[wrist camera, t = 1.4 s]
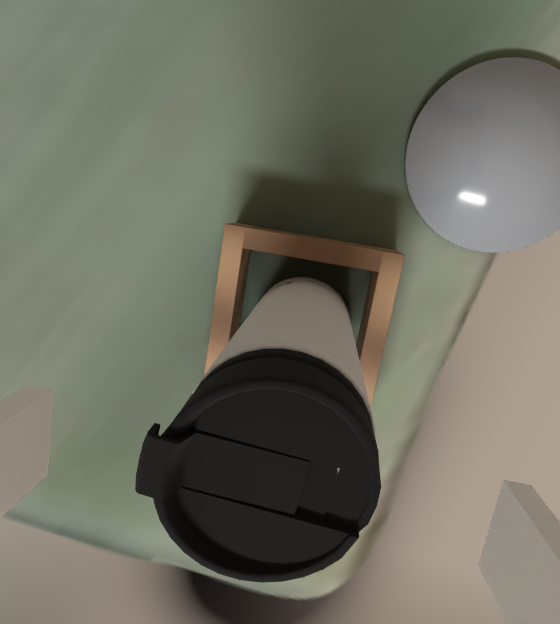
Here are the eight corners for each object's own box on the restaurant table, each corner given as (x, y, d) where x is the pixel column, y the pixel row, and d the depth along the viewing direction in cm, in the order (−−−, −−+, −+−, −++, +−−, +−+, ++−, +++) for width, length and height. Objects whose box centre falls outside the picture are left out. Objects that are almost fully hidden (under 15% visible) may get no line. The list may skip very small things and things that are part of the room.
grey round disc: (427, 47, 27) (429, 43, 27) (620, 75, 27) (627, 72, 26) (387, 235, 30) (388, 236, 29) (563, 265, 29) (568, 266, 28)
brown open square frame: (236, 222, 30) (224, 223, 27) (395, 250, 30) (404, 254, 26) (213, 385, 33) (200, 405, 29) (359, 413, 32) (363, 437, 29)
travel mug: (264, 262, 31) (157, 349, 11) (361, 289, 30) (424, 426, 11) (241, 350, 32) (112, 562, 13) (334, 376, 32) (348, 634, 12)
